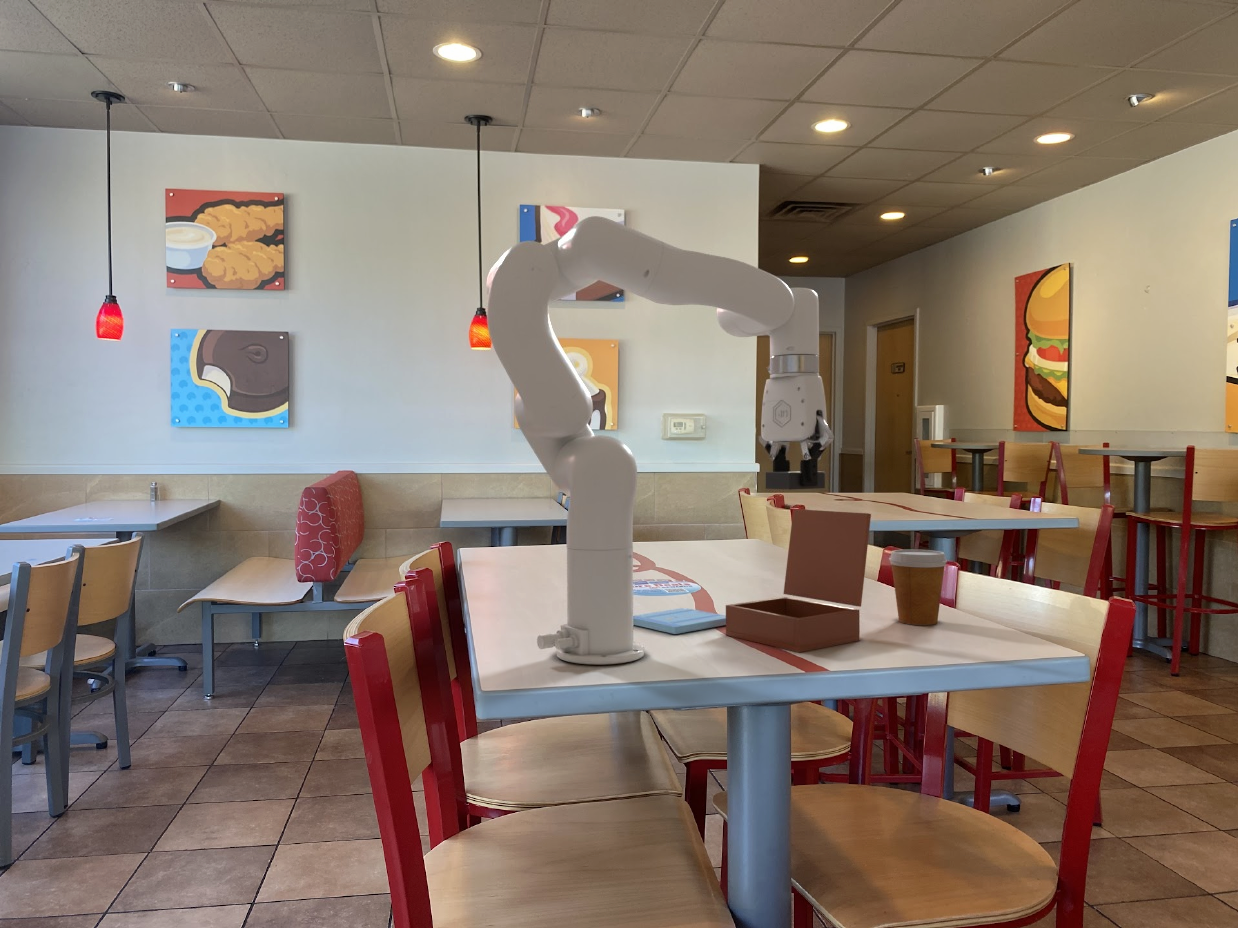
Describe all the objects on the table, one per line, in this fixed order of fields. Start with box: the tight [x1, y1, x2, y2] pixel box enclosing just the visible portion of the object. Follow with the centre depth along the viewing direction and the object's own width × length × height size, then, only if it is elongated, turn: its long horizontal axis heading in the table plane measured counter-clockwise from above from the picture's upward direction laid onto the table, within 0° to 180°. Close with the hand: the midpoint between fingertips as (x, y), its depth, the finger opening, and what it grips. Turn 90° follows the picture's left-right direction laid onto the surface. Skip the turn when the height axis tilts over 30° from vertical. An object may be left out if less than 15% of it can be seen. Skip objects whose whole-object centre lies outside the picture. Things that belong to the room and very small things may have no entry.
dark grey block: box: [765, 470, 826, 490], centre depth 135 cm, size 8×5×3 cm, turn 125°
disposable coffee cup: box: [888, 549, 948, 626], centre depth 148 cm, size 10×10×12 cm
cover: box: [783, 508, 872, 608], centre depth 140 cm, size 14×16×1 cm
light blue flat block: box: [633, 607, 726, 635], centre depth 147 cm, size 14×12×1 cm
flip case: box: [725, 596, 861, 653], centre depth 136 cm, size 14×16×5 cm
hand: (795, 484), depth 135 cm, fingers closed on dark grey block, 5 cm apart
